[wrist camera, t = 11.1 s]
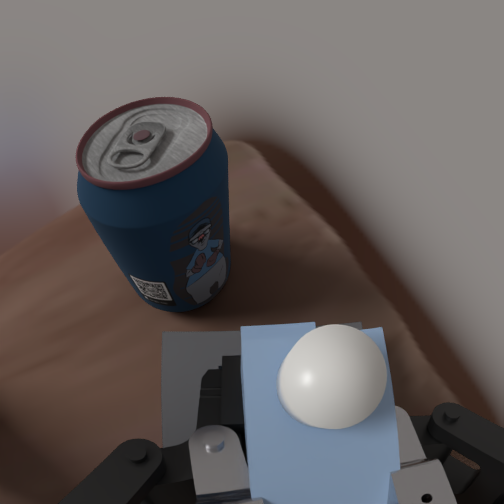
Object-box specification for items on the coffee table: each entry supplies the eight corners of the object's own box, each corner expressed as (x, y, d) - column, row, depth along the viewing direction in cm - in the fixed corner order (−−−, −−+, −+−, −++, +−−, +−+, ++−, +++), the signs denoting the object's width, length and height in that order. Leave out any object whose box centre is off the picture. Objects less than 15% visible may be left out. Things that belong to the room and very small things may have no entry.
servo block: (304, 482, 12) (419, 573, 2) (246, 488, 12) (263, 613, 2) (293, 352, 16) (380, 230, 6) (238, 355, 16) (237, 233, 6)
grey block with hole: (184, 486, 13) (167, 508, 9) (179, 351, 18) (162, 331, 14) (347, 473, 14) (379, 487, 10) (334, 344, 19) (361, 321, 15)
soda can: (154, 224, 23) (113, 90, 13) (240, 240, 22) (245, 95, 12) (122, 304, 19) (32, 187, 9) (217, 329, 19) (194, 211, 9)
